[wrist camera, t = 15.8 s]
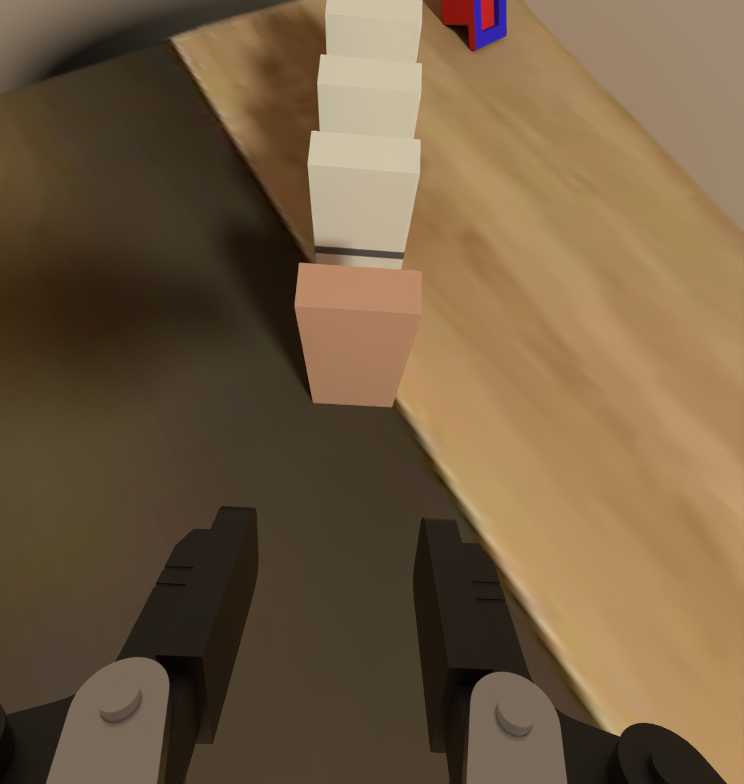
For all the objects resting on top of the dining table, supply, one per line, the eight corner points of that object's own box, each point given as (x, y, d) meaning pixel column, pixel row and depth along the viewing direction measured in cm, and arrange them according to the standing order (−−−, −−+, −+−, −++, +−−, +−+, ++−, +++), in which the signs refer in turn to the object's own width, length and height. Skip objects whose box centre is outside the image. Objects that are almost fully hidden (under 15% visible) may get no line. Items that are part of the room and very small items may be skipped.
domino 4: (331, 188, 35) (325, 14, 24) (333, 166, 36) (328, -12, 25) (397, 193, 36) (422, 23, 24) (397, 171, 36) (422, -4, 25)
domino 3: (325, 243, 34) (317, 84, 22) (328, 219, 34) (320, 53, 23) (395, 248, 34) (421, 93, 23) (395, 224, 35) (421, 63, 23)
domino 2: (319, 304, 32) (307, 165, 21) (322, 278, 33) (311, 129, 22) (393, 309, 32) (420, 174, 21) (393, 283, 33) (420, 138, 22)
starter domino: (313, 402, 30) (294, 306, 18) (315, 373, 30) (299, 262, 19) (392, 407, 30) (421, 314, 19) (392, 377, 31) (421, 270, 19)
